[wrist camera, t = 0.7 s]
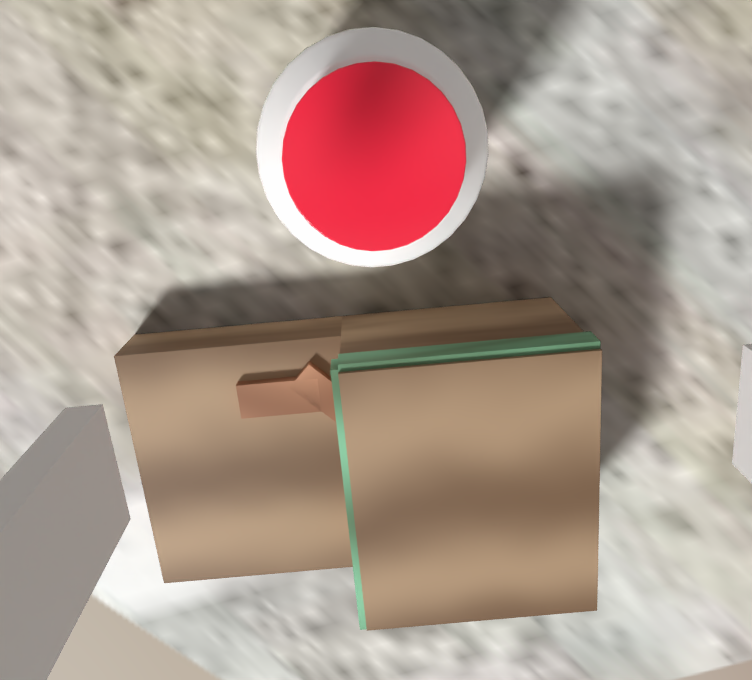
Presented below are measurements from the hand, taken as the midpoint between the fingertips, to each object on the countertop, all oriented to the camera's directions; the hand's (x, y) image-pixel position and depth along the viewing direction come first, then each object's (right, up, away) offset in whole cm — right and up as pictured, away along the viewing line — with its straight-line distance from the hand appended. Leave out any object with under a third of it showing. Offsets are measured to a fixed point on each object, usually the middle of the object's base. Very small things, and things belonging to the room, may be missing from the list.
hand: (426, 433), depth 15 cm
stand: (-2, -3, +21) cm, 21 cm away
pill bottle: (-1, +11, +17) cm, 20 cm away
